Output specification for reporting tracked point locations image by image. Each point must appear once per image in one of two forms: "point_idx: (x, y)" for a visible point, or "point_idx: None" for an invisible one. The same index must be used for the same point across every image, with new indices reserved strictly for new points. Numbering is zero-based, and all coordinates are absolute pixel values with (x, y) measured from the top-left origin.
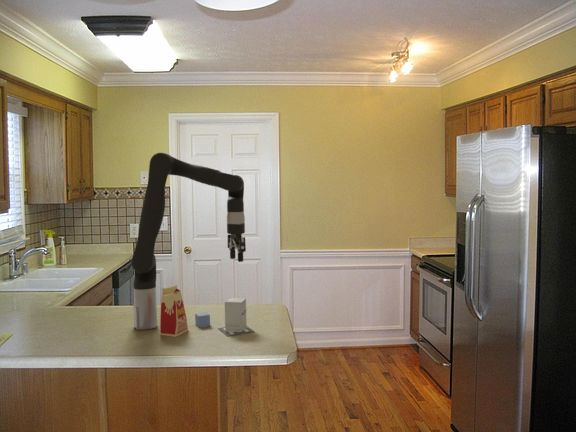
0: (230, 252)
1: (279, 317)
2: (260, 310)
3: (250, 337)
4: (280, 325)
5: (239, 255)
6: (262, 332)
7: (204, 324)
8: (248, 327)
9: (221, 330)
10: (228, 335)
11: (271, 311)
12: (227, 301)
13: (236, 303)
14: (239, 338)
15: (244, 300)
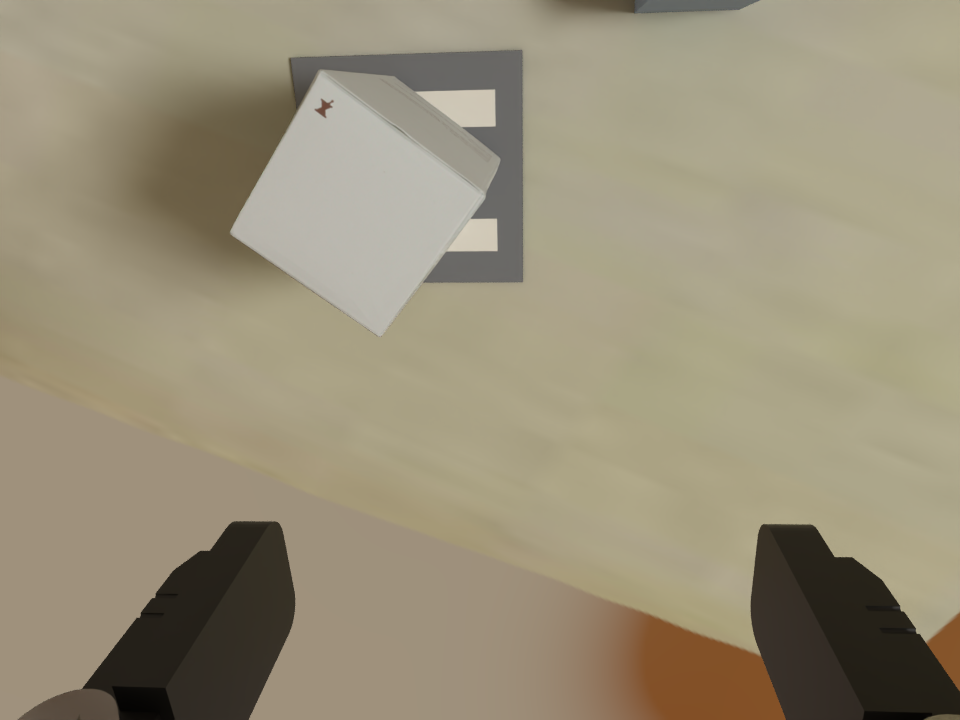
0: (845, 649)
1: (559, 545)
2: (805, 518)
3: (211, 207)
4: (385, 476)
5: (144, 651)
6: (287, 320)
7: None
8: (427, 278)
9: (448, 60)
10: (301, 70)
11: (729, 565)
12: (325, 107)
13: (257, 187)
14: (216, 127)
15: (327, 301)
